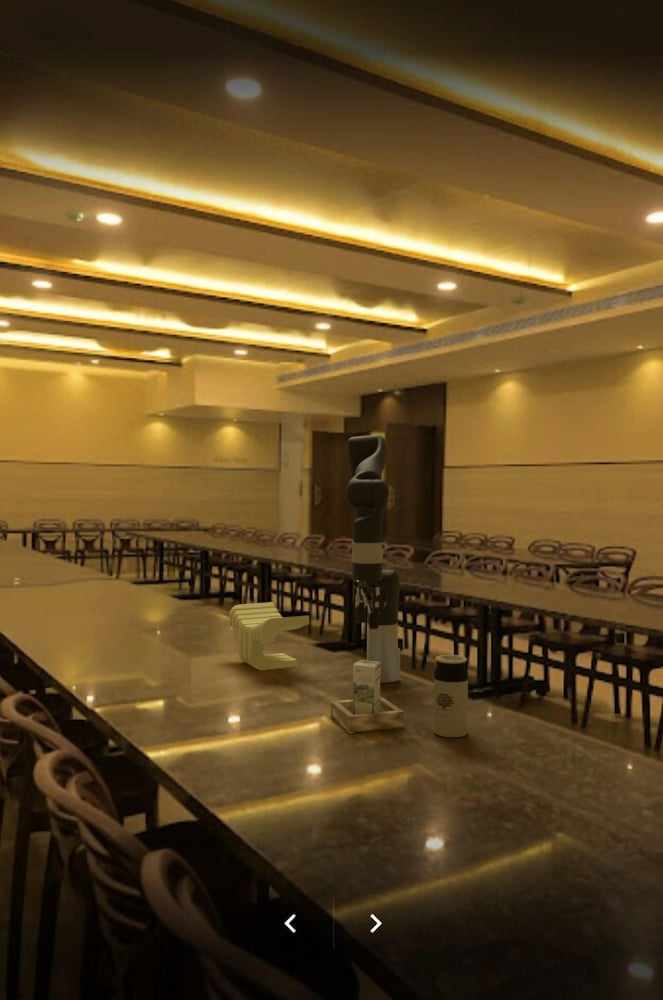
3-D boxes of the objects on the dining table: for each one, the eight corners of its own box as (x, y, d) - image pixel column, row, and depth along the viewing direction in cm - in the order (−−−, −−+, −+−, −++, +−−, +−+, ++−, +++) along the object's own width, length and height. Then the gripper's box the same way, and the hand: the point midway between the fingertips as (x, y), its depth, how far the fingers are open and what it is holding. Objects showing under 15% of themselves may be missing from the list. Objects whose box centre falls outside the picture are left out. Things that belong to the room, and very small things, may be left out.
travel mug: (447, 725, 195) (447, 652, 195) (474, 733, 189) (474, 658, 189) (426, 733, 190) (427, 657, 189) (453, 740, 184) (454, 663, 183)
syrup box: (380, 718, 199) (381, 660, 199) (374, 725, 194) (374, 665, 193) (358, 716, 201) (359, 659, 201) (352, 722, 196) (352, 664, 195)
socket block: (381, 712, 206) (381, 696, 206) (403, 728, 193) (403, 711, 193) (330, 717, 202) (330, 701, 202) (349, 733, 189) (349, 717, 189)
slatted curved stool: (228, 657, 269) (228, 605, 269) (272, 653, 276) (272, 602, 276) (261, 677, 242) (261, 619, 242) (308, 672, 249) (309, 615, 249)
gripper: (392, 563, 191) (392, 630, 191) (370, 557, 204) (370, 619, 205) (363, 564, 188) (363, 632, 189) (343, 558, 202) (343, 621, 202)
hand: (367, 625), depth 197 cm, fingers open, 8 cm apart
